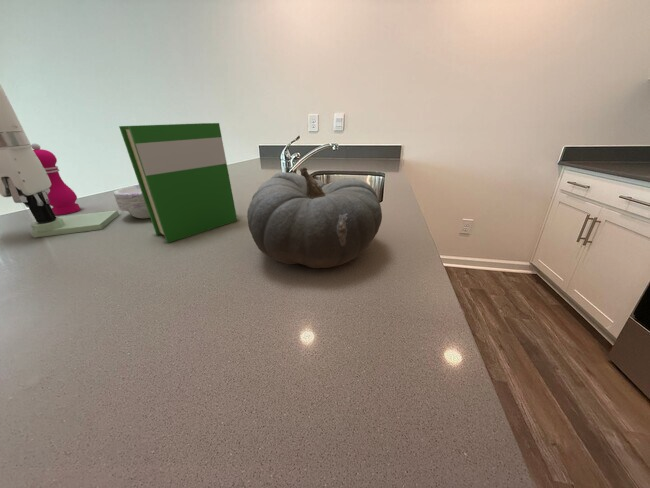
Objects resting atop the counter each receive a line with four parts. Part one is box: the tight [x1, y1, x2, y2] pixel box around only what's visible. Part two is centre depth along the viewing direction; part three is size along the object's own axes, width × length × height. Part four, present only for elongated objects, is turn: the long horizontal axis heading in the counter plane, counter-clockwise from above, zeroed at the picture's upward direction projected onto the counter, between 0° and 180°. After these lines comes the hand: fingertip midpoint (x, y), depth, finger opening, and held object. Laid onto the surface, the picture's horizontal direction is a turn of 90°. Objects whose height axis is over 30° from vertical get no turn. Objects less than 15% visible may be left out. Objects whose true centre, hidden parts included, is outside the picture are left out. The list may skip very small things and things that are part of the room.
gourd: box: [246, 166, 383, 269], centre depth 50 cm, size 25×25×17 cm
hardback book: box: [118, 122, 238, 244], centre depth 61 cm, size 18×7×24 cm, turn 139°
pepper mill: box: [30, 143, 81, 216], centre depth 76 cm, size 7×7×20 cm
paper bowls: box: [113, 184, 151, 219], centre depth 75 cm, size 15×15×8 cm
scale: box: [30, 209, 120, 238], centre depth 69 cm, size 14×12×3 cm
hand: (47, 220), depth 64 cm, fingers closed
